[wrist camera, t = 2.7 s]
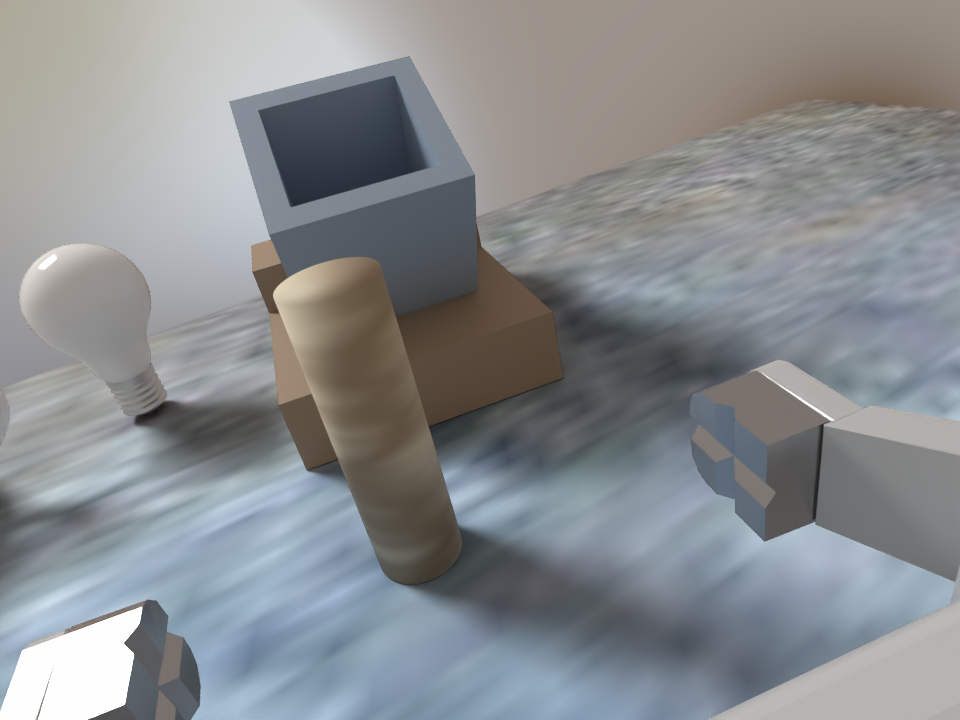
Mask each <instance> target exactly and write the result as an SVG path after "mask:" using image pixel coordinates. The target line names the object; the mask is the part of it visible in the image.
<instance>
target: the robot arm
mask: <svg viewBox="0 0 960 720" xmlns="http://www.w3.org/2000/svg"><path fill="white" fill-rule="evenodd" d="M690 416H691V417H692V418H693V419H694V420H695V421H696V422H697V423H698V424H699V425H698V427H697V429H696V431H695V432H694V434H693V436H692V438H691V444H692V455H693V458H694V461H695V463H696V466H697V468H698V471H699V473H700V474H701V476H702V477H703V479H704V480H705V482H706V483H707V484H708V485H709V486H710V487H711V488H712V490H713V491H714V492H715V493H716V494H719V495H722V496H725V497H729V498H732V499H735V513H736V514H737V515H738V516H739V517H740V518H741V519H742V520H743V521H744V522H745V523H746V524H747V525H748V526H749V527H750V528H751V529H752V530H753V531H754V532H755V533H756V534H757V535H758V536H759V537H760V538H761V539H762V540H763V541H764V542H765V541H768V540H770V539H773V538H775V537H778V536H780V535H783V534H785V533H788V532H790V531H793V530H795V529H798V528H800V527H803V526H805V525H808V524H810V523H813V522H816V523H815V525H818V526H820V527H823V528H825V529H828V530H830V531H832V532H835V533H837V534H840V535H842V536H845V537H847V538H850V539H852V540H854V541H857V542H859V543H862V544H864V545H867V546H869V547H871V548H874V549H876V550H879V551H881V552H884V553H886V554H889V555H891V556H893V557H896V558H898V559H901V560H903V561H906V562H908V563H911V564H913V565H915V566H918V567H920V568H923V569H925V570H928V571H930V572H933V573H935V574H937V575H940V576H942V577H945V578H947V579H950V580H952V581H955V586H954V590H953V594H952V598H951V602H950V605H947V606H945V607H943V608H941V609H939V610H937V611H935V612H933V613H931V614H928V615H926V616H924V617H922V618H920V619H918V620H916V621H914V622H912V623H910V624H907V625H905V626H903V627H901V628H899V629H897V630H895V631H893V632H891V633H888V634H886V635H884V636H882V637H880V638H878V639H876V640H874V641H872V642H869V643H867V644H865V645H863V646H861V647H859V648H857V649H855V650H853V651H851V652H848V653H846V654H844V655H842V656H840V657H838V658H836V659H834V660H832V661H829V662H827V663H825V664H823V665H821V666H819V667H817V668H815V669H813V670H811V671H808V672H806V673H804V674H802V675H800V676H798V677H796V678H794V679H792V680H789V681H787V682H785V683H783V684H781V685H779V686H777V687H775V688H773V689H770V690H768V691H766V692H764V693H762V694H760V695H758V696H756V697H754V698H752V699H749V700H747V701H745V702H743V703H741V704H739V705H737V706H735V707H733V708H730V709H728V710H726V711H724V712H722V713H720V714H718V715H716V716H714V717H711V718H709V719H707V720H960V421H955V420H950V419H944V418H939V417H933V416H928V415H922V414H917V413H911V412H906V411H900V410H895V409H889V408H884V407H878V406H873V405H872V406H869V407H867V408H864V409H863V408H861V407H860V406H858V405H857V404H855V403H853V402H852V401H850V400H849V399H847V398H845V397H844V396H842V395H841V394H839V393H837V392H836V391H834V390H832V389H831V388H829V387H828V386H826V385H824V384H823V383H821V382H820V381H818V380H816V379H815V378H813V377H812V376H810V375H808V374H807V373H805V372H804V371H802V370H800V369H799V368H797V367H796V366H794V365H792V364H791V363H789V362H787V361H782V360H776V361H773V362H771V363H768V364H766V365H763V366H761V367H758V368H756V369H754V370H751V371H749V373H745V374H743V375H740V376H737V377H735V378H732V379H730V380H727V381H724V382H722V383H719V384H717V385H714V386H712V387H709V388H706V389H704V390H701V391H699V392H696V393H693V394H692V397H691V400H690ZM167 624H168V615H167V614H166V613H165V611H164V610H163V609H162V607H161V606H160V605H159V604H158V602H157V601H154V600H146V601H143V602H140V603H137V604H134V605H131V606H129V607H126V608H123V609H120V610H117V611H114V612H112V613H109V614H106V615H103V616H100V617H98V618H95V619H92V620H89V621H86V622H83V623H81V624H78V625H75V626H72V627H71V628H69V629H66V630H63V631H60V632H57V633H54V634H52V635H49V636H46V637H43V638H40V639H38V640H35V641H32V642H31V643H30V644H29V645H28V646H27V647H26V648H25V649H24V650H23V651H22V653H21V655H20V658H19V661H18V663H17V666H16V669H15V672H14V674H13V677H12V680H11V683H10V686H9V688H8V691H7V694H6V697H5V699H4V702H3V705H2V708H1V710H0V720H191V719H192V717H193V715H194V714H195V712H196V711H197V709H198V708H199V706H200V689H201V685H200V679H199V673H198V667H197V663H196V661H195V658H194V656H193V653H192V651H191V649H190V647H189V646H188V644H187V643H186V641H185V640H184V638H183V637H180V636H177V635H174V634H171V633H168V632H167Z"/></svg>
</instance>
